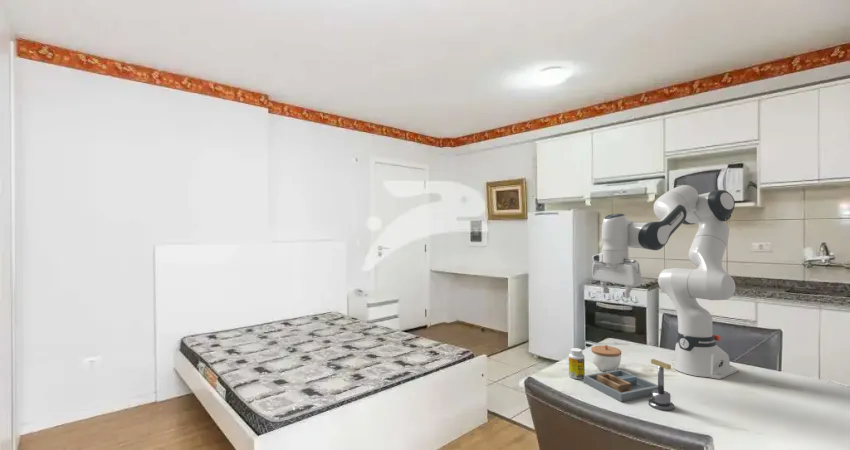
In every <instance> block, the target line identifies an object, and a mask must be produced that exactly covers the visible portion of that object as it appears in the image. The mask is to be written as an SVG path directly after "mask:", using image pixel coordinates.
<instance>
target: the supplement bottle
mask: <svg viewBox="0 0 850 450" xmlns="http://www.w3.org/2000/svg"><path fill="white" fill-rule="evenodd" d="M585 373H586V372H585V355H584V354H583V349H581V348H578V347H576V348H575V347H572V348H570V353H569V354H568V376H569V377H570V378H571V379H575V380H584V376H586V375H585Z"/></svg>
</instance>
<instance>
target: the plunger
mask: <svg viewBox="0 0 850 450" xmlns="http://www.w3.org/2000/svg"><path fill="white" fill-rule="evenodd" d="M650 363H651V364H652V365H655V366H657V385H658V390H653V391H652V396H651V398H649V399H648V406H650V407H651V408H653V409H655V410H659V411H662V412H663V411H665V412H669V411H674V410H675V404H674V403H673V402H672V401H671V393H670V392H668V391H666V390H665V378H664V377H665V373H664V372H665V369H666V370H671V369H672V365H671V364H669V363H666V362H664V361H662V360H658V359H656V358H651V360H650Z"/></svg>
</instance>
